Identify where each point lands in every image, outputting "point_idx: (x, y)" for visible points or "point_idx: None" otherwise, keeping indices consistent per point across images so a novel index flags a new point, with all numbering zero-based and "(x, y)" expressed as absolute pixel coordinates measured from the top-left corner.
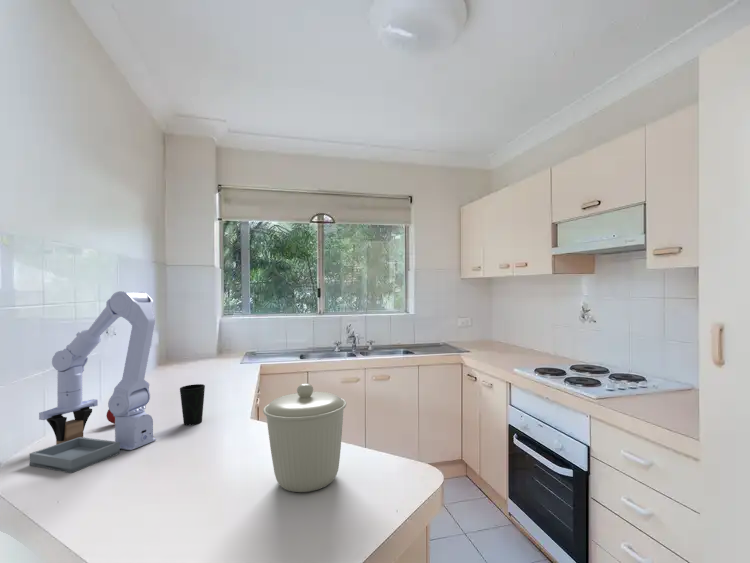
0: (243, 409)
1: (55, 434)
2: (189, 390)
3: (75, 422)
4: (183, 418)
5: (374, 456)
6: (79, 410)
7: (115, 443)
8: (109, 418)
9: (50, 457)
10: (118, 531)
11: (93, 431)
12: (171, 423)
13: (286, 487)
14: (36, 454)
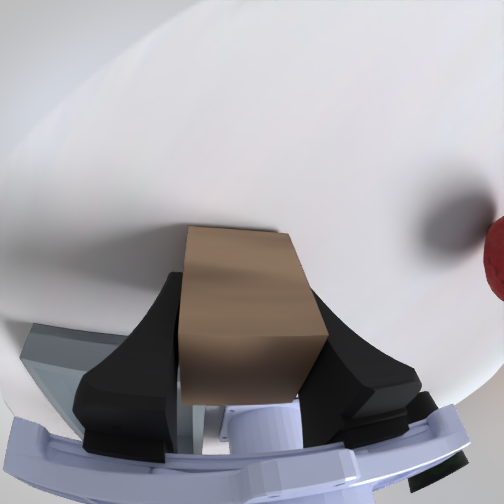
0: (459, 400)
1: (159, 298)
2: (410, 490)
3: (247, 401)
4: (406, 416)
5: None
6: (338, 437)
7: None
8: (493, 253)
9: (60, 414)
10: None
11: (430, 197)
12: (426, 375)
13: None
14: (34, 380)
